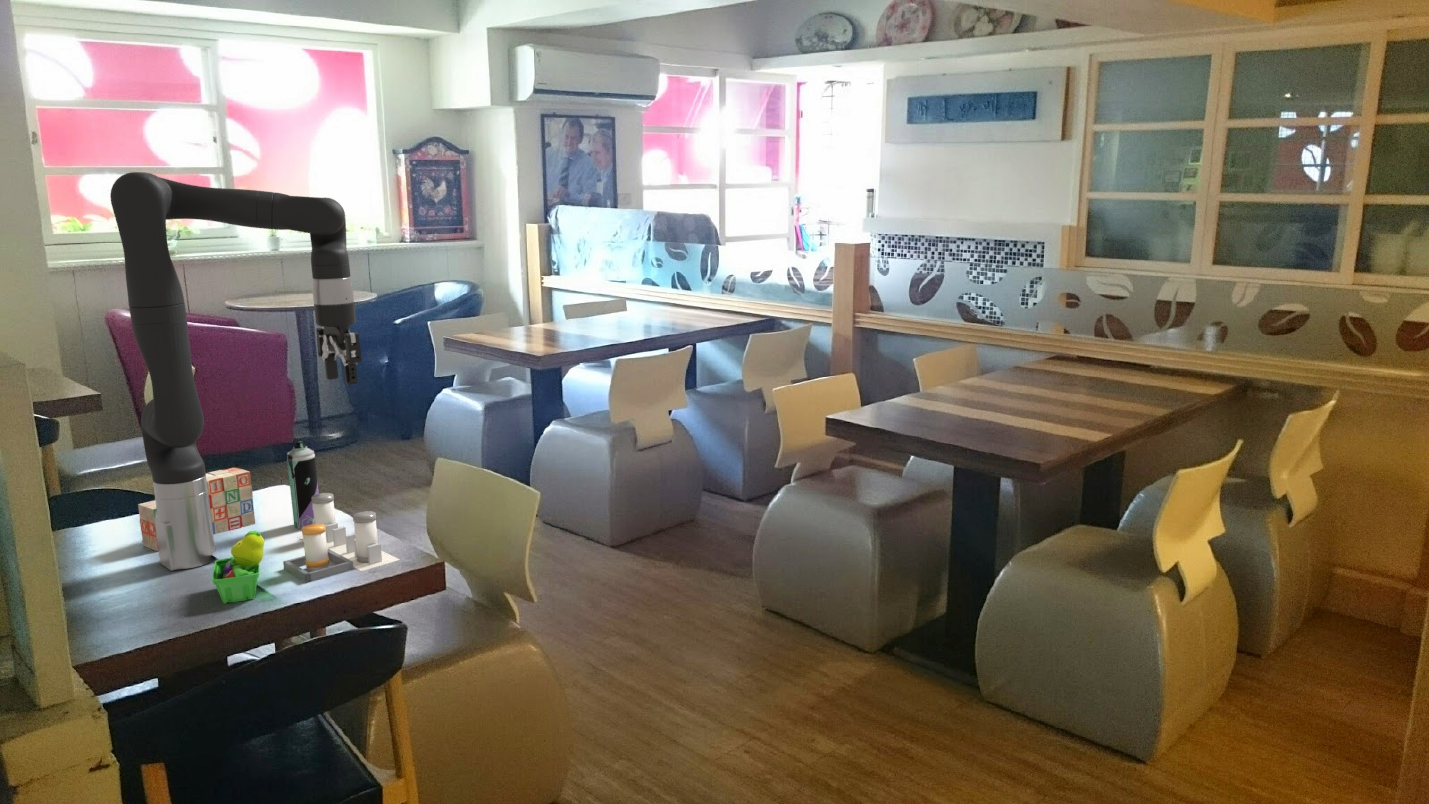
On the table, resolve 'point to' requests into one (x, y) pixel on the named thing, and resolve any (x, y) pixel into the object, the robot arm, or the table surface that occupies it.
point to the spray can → (302, 483)
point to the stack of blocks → (212, 505)
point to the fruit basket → (240, 569)
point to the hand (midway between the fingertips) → (341, 381)
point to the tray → (341, 567)
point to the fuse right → (364, 533)
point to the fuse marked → (315, 547)
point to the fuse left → (323, 508)
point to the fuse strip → (354, 548)
